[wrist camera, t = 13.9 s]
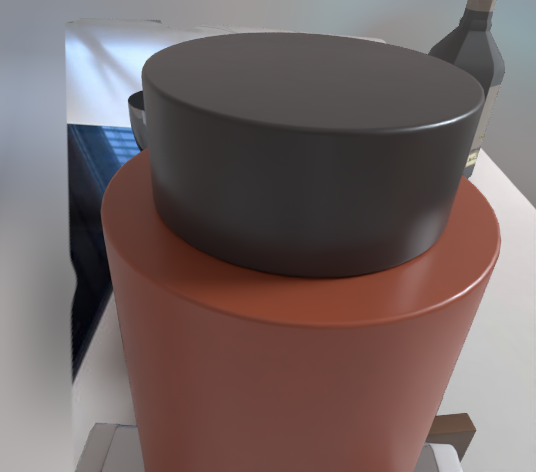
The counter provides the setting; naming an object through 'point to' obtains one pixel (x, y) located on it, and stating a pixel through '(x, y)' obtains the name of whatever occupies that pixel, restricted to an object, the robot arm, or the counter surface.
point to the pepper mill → (296, 252)
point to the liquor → (475, 62)
